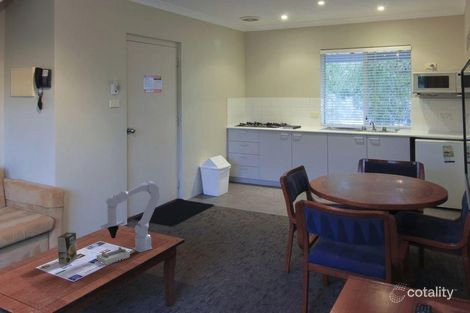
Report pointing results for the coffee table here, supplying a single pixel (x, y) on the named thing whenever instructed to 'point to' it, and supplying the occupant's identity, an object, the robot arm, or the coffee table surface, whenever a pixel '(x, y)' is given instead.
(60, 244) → the coffee box
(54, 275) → the coffee table surface
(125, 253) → the latch block
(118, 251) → the strap
